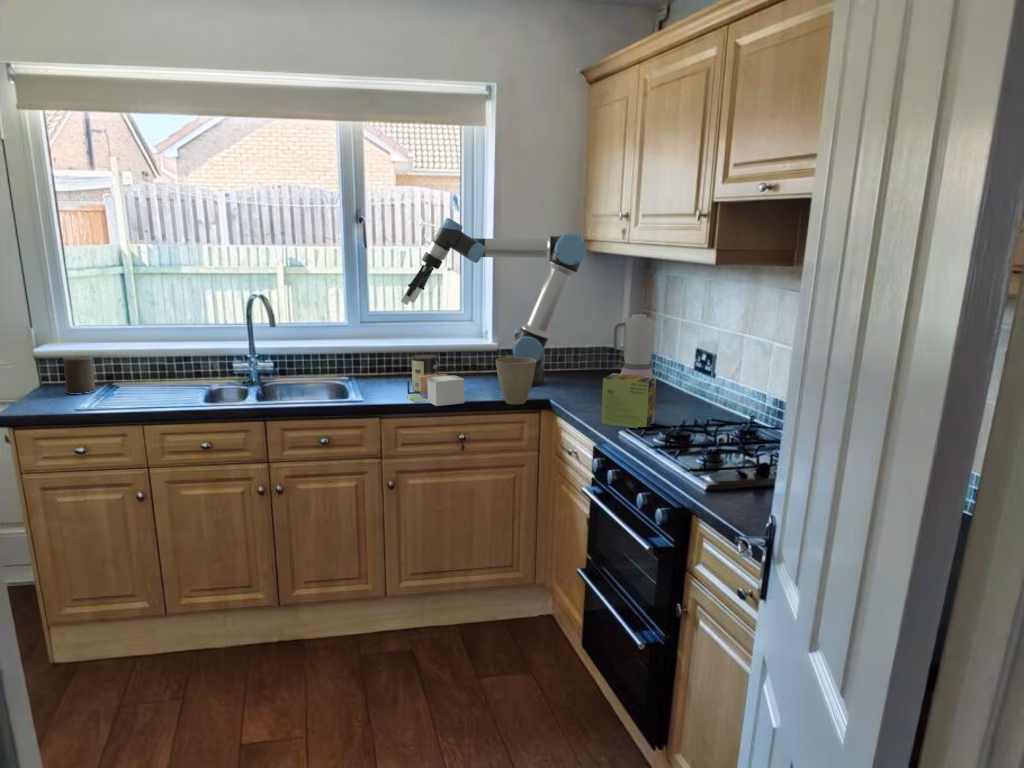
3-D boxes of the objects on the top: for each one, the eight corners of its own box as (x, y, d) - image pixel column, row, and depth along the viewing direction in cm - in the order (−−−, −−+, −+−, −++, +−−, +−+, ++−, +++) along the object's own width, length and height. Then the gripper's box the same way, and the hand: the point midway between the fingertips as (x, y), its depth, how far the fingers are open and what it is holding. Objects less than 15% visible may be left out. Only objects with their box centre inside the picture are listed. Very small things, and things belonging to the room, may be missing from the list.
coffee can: (439, 388, 280) (439, 354, 278) (436, 394, 270) (436, 358, 267) (414, 388, 281) (413, 354, 278) (410, 394, 270) (409, 358, 268)
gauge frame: (444, 393, 272) (444, 370, 270) (464, 403, 256) (464, 379, 254) (405, 397, 265) (405, 374, 263) (423, 407, 249) (422, 382, 247)
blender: (647, 395, 270) (650, 313, 264) (656, 402, 259) (661, 316, 252) (607, 396, 269) (610, 313, 262) (615, 403, 257) (618, 317, 250)
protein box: (647, 429, 221) (649, 382, 218) (600, 424, 227) (602, 377, 224) (654, 422, 230) (657, 376, 227) (610, 417, 237) (611, 372, 234)
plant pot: (541, 405, 253) (542, 362, 250) (503, 408, 248) (503, 364, 245) (527, 396, 267) (527, 355, 264) (490, 399, 262) (490, 357, 259)
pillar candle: (73, 396, 263) (68, 357, 260) (62, 392, 269) (58, 354, 266) (100, 392, 271) (96, 354, 268) (89, 388, 276) (85, 351, 273)
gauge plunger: (445, 391, 271) (445, 373, 269) (453, 395, 264) (453, 377, 263) (407, 395, 264) (406, 377, 262) (414, 399, 257) (413, 380, 256)
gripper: (431, 251, 283) (405, 296, 286) (420, 249, 258) (392, 298, 262) (447, 261, 283) (421, 305, 287) (438, 260, 259) (409, 309, 262)
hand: (407, 302), depth 274 cm, fingers open, 13 cm apart
